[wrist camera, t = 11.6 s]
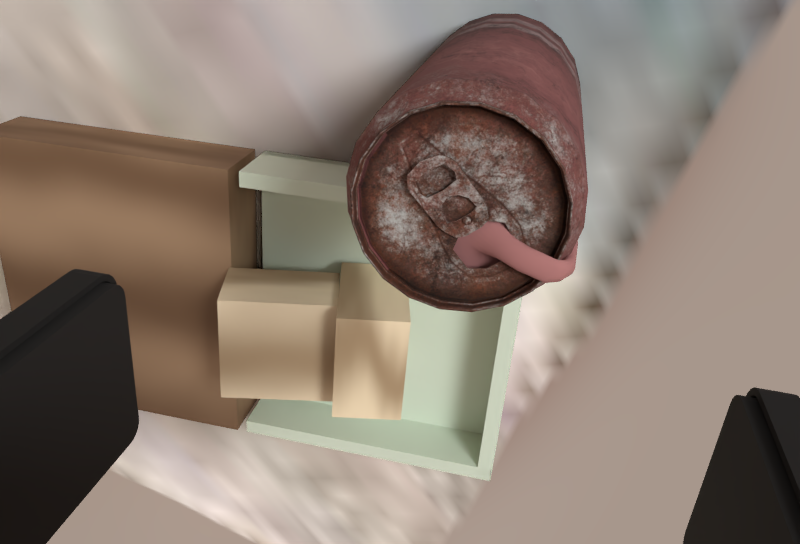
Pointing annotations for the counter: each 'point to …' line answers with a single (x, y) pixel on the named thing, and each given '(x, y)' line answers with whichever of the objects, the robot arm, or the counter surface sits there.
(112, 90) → the counter surface
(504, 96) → the can
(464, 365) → the tray
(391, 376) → the tile
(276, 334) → the tile
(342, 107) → the counter surface
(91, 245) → the board
